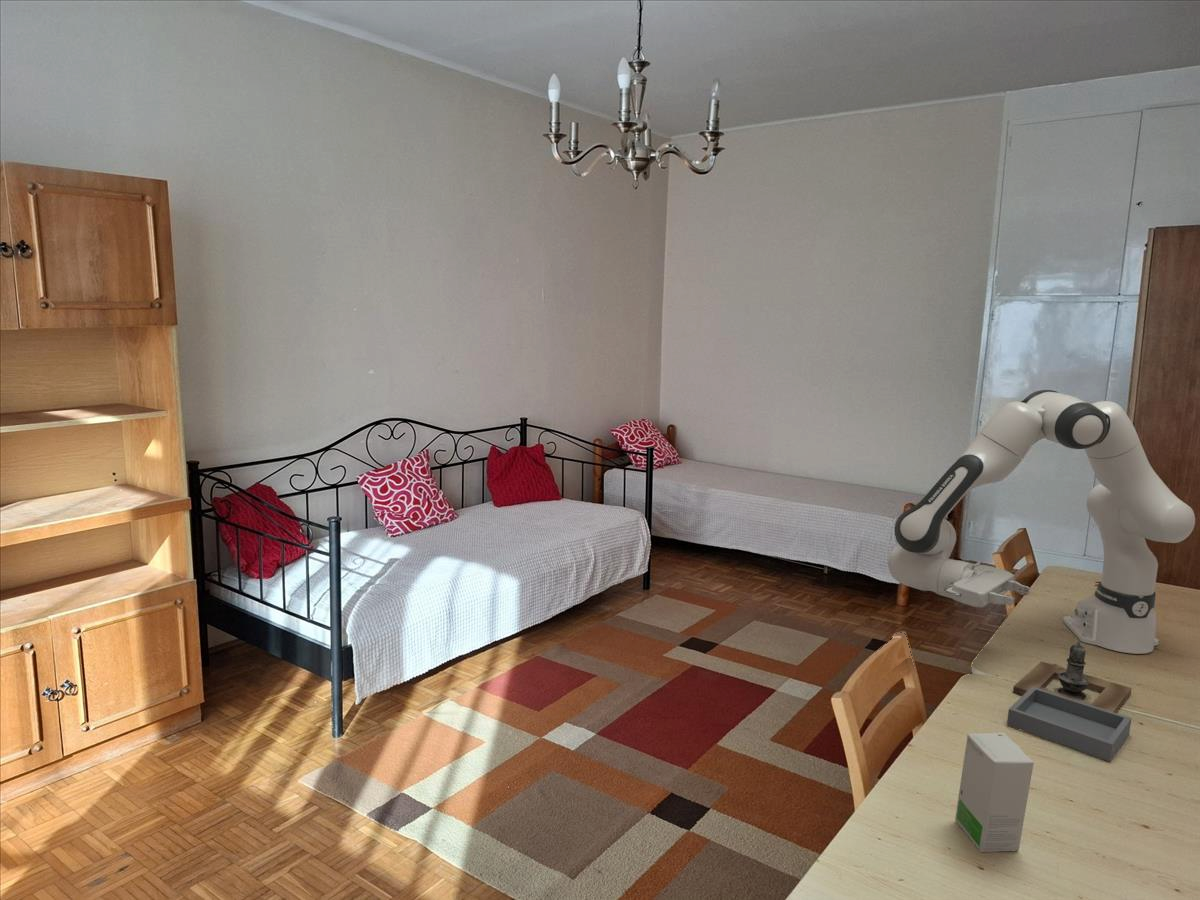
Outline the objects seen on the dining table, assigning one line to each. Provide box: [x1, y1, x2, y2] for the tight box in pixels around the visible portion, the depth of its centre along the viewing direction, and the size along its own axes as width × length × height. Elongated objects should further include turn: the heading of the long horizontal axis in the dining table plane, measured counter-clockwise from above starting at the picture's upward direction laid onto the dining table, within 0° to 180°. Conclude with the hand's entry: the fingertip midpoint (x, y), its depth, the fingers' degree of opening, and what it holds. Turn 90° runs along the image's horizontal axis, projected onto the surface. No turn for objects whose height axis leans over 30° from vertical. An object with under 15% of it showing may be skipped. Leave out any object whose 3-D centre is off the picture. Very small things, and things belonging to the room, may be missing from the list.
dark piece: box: [1057, 641, 1090, 701], centre depth 177 cm, size 6×6×12 cm
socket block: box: [1012, 661, 1132, 713], centre depth 178 cm, size 18×18×2 cm
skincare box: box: [954, 732, 1035, 853], centre depth 128 cm, size 8×7×16 cm
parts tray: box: [1006, 686, 1133, 763], centre depth 162 cm, size 18×14×4 cm
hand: (1021, 596), depth 183 cm, fingers open, 8 cm apart
